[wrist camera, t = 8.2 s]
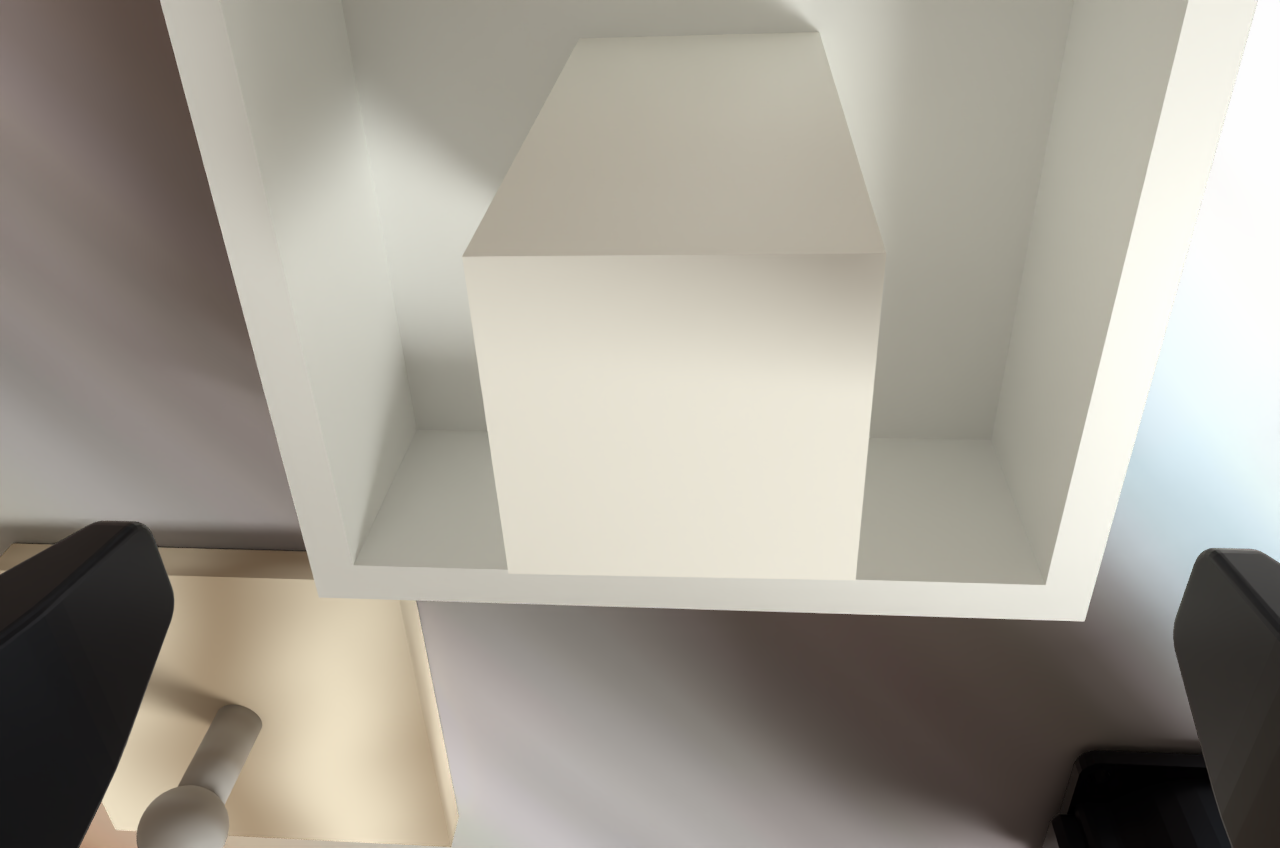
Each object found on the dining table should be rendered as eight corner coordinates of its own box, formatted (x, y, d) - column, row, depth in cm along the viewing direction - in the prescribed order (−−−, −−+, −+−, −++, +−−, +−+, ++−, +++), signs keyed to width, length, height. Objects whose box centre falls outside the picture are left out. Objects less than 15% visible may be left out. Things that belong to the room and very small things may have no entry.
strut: (819, 31, 17) (886, 253, 10) (807, 256, 19) (855, 580, 12) (579, 38, 17) (462, 255, 10) (595, 257, 20) (508, 573, 12)
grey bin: (1181, -335, 15) (1361, -369, 10) (1018, 456, 22) (1084, 621, 18) (251, -297, 16) (76, -315, 12) (394, 444, 23) (318, 597, 19)
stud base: (406, 554, 25) (336, 728, 20) (458, 816, 30) (411, 999, 26) (12, 543, 26) (-138, 708, 21) (132, 801, 31) (32, 975, 27)
